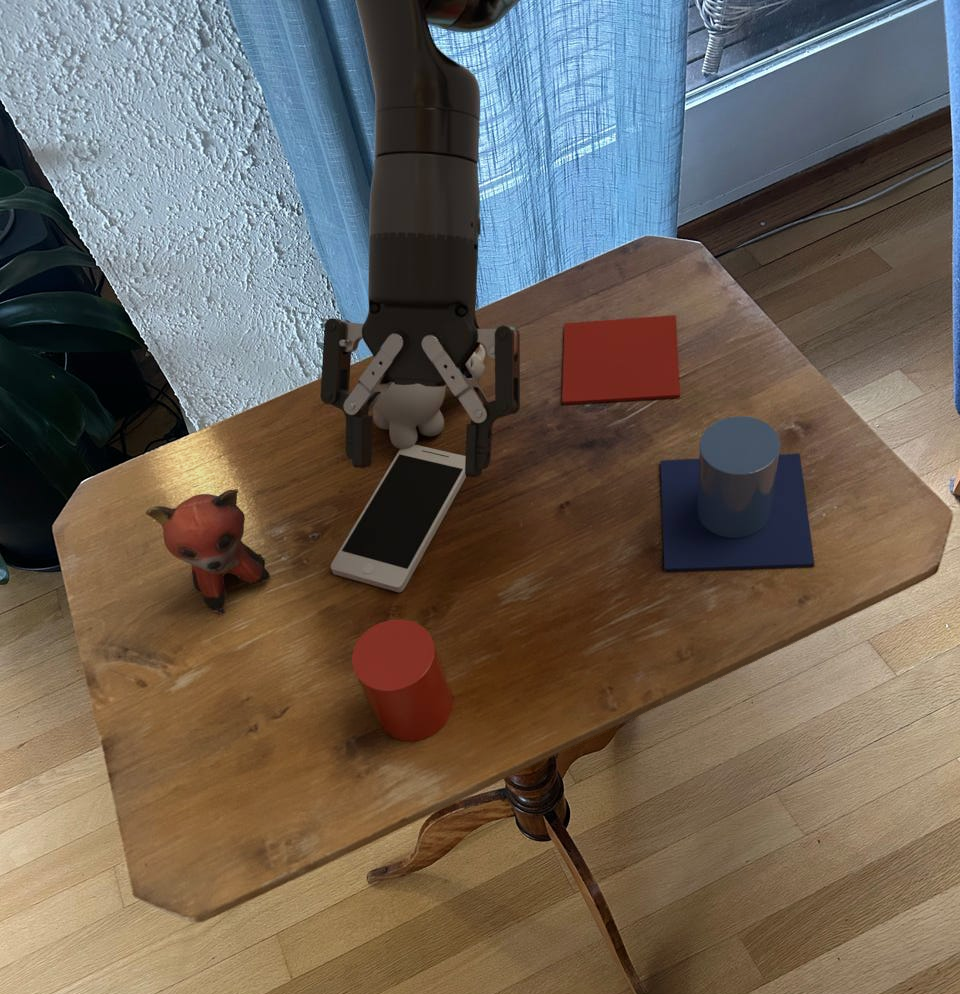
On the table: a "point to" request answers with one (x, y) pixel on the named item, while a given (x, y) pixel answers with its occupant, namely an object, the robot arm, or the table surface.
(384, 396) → the toy rhinoceros
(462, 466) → the smartphone
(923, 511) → the table surface
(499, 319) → the table surface
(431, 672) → the red cylinder
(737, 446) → the grey-blue cylinder
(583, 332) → the red mat
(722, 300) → the table surface
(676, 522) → the blue mat
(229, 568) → the stuffed fox
